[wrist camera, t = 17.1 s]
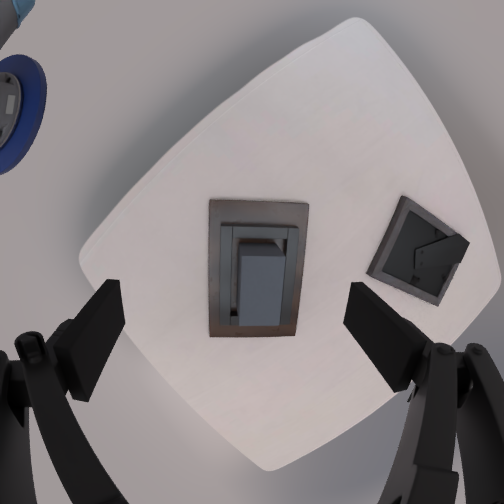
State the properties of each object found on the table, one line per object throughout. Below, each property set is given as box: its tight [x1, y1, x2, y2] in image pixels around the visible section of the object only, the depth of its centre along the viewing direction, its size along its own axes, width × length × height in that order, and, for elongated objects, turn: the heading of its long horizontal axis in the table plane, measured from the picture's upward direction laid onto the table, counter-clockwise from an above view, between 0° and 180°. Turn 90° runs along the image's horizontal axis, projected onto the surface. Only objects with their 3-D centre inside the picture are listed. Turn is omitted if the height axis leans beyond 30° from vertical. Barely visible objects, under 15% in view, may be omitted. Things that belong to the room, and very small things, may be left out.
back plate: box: [209, 200, 309, 337], centre depth 39 cm, size 20×13×2 cm, turn 177°
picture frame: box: [367, 196, 470, 306], centre depth 42 cm, size 13×2×18 cm
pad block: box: [237, 243, 286, 326], centre depth 37 cm, size 9×5×6 cm, turn 177°
